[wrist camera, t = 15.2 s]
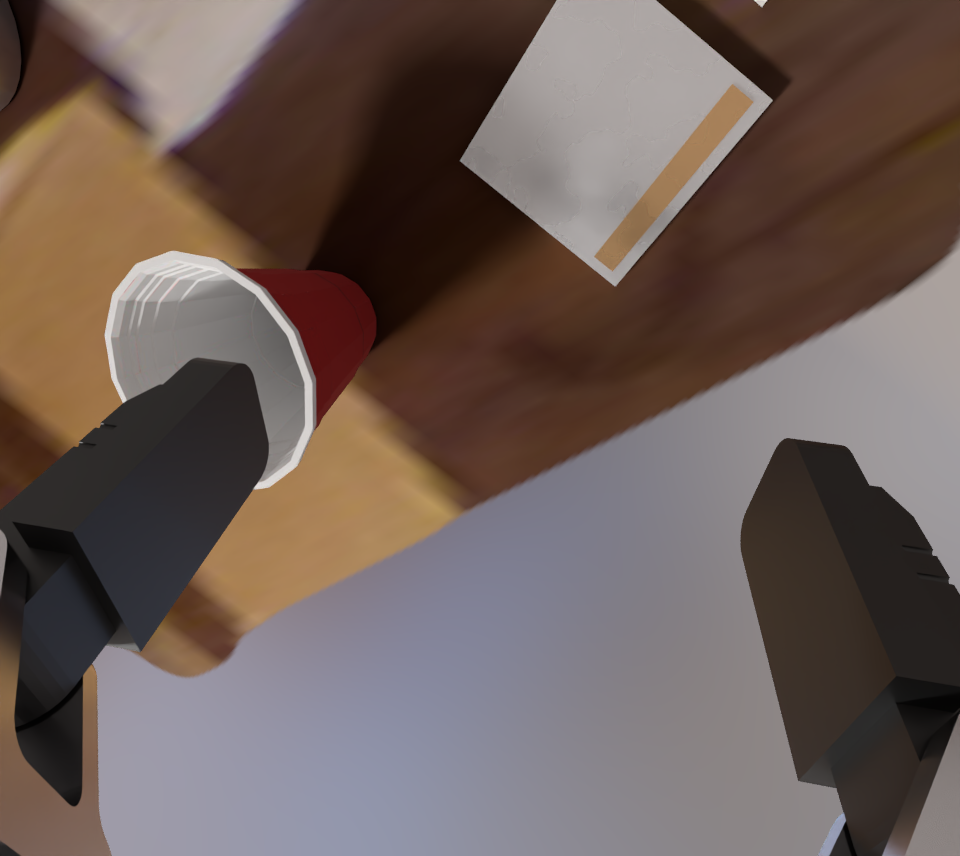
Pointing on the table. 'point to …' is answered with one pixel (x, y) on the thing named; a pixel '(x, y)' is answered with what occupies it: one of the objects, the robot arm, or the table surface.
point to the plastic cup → (244, 337)
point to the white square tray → (760, 2)
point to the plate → (612, 127)
